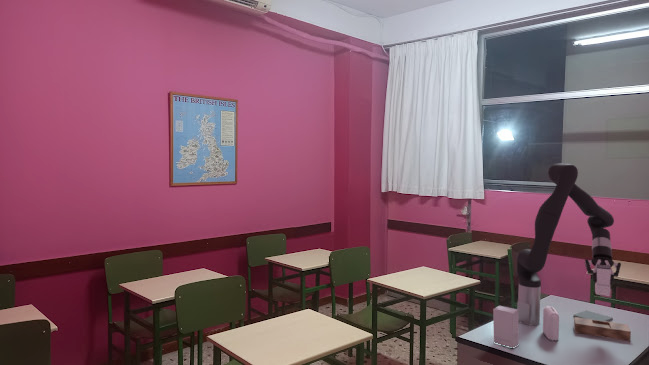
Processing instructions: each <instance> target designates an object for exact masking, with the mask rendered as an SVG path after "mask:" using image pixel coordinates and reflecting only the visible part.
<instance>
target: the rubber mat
mask: <svg viewBox="0 0 649 365" xmlns="http://www.w3.org/2000/svg"><path fill="white" fill-rule="evenodd" d="M572 317H573V318H574V317H578V318H585V319H592V320H599V321H606V322H612V321H613V320H614V319H613V318H614V317H612V316H608V315H605V314H601V313H598V312H593V311H592V310H591V311H590V310H583V311H580V312H578V313H575V314H573V316H572Z"/></svg>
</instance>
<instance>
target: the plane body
mask: <svg viewBox="0 0 649 365" xmlns="http://www.w3.org/2000/svg"><path fill="white" fill-rule="evenodd" d="M573 318H574V322H573V328H574V333H576V334H581V335H582V334H584V335H589V336H596V337H600V338H601V337H602V338H608V339H614V340H623V341H627V342H631V332H632V331H631V328H629V325H628V324H626V323H620V322H612V321H608V322H606V321H599V320H592V319H585V318H578V317H573Z"/></svg>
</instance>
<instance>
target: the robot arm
mask: <svg viewBox="0 0 649 365" xmlns="http://www.w3.org/2000/svg"><path fill="white" fill-rule="evenodd" d="M547 174H548V177H549V179H550V180H551V181H552V183H554V184H555V185H556V186H555V188H554V189H553V192H551V193H552V194H550V196H548V197H547V199H546V200H544V202H543V203H541V206H540V207H539V208H538V212H537V213H536V216H535V221H534V241H533V245H532V246H531V248H530V249H529V248H525V249H522V250H521V251H520V252H519V253H518V255H517V258H516V275H517V279H518V294H517V295H518V297H517V298H518V299H517V302H516V304H517V305H516V309H518V323H521V324H525V325H527V326H535V325H536V326H537V325H539V324H540V322H541V320H540V319H541V292H542V290H541V289H542V288H541V286H542V281H541V278H540V277H539V275H538V273H539V272H541V271H542V270H543V269H544V267H545V264H546V261H547V258H548V254H549V250H550V246H551V243H552V241H553V238H554V234H555V231H556V229H557V226H558V224H559V222H560V219H561V216H562V213H563V210H564V207H565V205H566V203H567V201H568V197H570V199H571V200H572V201H573V203H575V205H576V206H577V207H578V208H579V209H580V211H581V212H582V214H584V215H585V216H588V218H587V224H588V227H589V229H590V232H591V235H592V237H591V238H592V243H591V253H592V254H591V256H592V258H591V260H589V259H587V258H586V259H585V260H584V265H585V268H586V271H587V273H588V274H589V275H591V276H592V282H594V284H595V283H597V273H596V267H597V264H599V265H609V266H611V277H610V286H611V285H613V284H614V283H615V278H618V277H619V274H620V270H621V266H622V262H614V260H613V249H612V242H611V233H610V231H609V230H608V229H606V228H609V227H612V226H613V225H614V222H615V218H614V216H613V215H612V214H611V212H609V211H608V210H606V209H605V208H603V207H602V206H600V205H599V204H598V203H597V202H596V200H595V199H594V198H593V197H592V196H591V195H590V194H589V193H588V192H587V191H585V190H584V189H582V188H581V187H580V186H578V185H577V183H576V182H577V179H578V176H579V170H578V168H577V166H576V165H574V164H573V163H572V164H571V163H554V164H552V165H551V166H550V167H549V168H548V172H547ZM591 265H592V266H594V268H593V269H592V268H591ZM613 266H614V269H616V270H615V272H614V270H613V269H612V267H613Z"/></svg>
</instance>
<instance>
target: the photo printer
mask: <svg viewBox="0 0 649 365" xmlns="http://www.w3.org/2000/svg"><path fill="white" fill-rule="evenodd" d="M542 311H543V312H542V313H543V314H542V315H543V316H542V318H543V319H542V333H543V334H544V335H545V337H547V339H548V340H550V341H553V340H555V341H558V340H559V335H560V333H559V331H560V315H559V313H558V311H557V310H556V309H555V307H553V306H552V305H551V306H550V305H549V306H548V305H546V306H544V308H543V310H542Z"/></svg>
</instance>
